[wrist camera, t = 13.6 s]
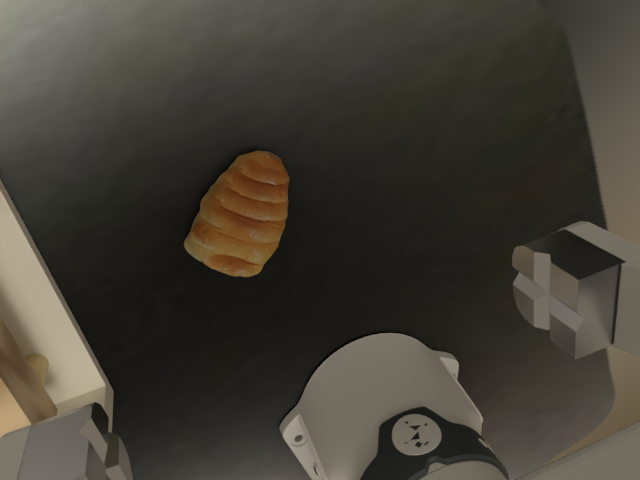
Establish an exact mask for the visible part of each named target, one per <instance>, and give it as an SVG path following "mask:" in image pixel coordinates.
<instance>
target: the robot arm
mask: <svg viewBox="0 0 640 480" xmlns="http://www.w3.org/2000/svg"><path fill="white" fill-rule="evenodd" d="M512 266H513V267H514V268H515V269H516V270H517V271H518V272H519V274H518V276H517V278H516V279H515V281H514V283H513V293H514V300H515V302H516V305H517V307H518V309H519V311H520V313H521V314H522V315H523V317H524V318H525V319H526V320H527V321H528V322H529V323H530V324H532V325H533V326H534V327H538V328H542V329H545V330H549V337H550V340H551V341H552V342H553V343H555V344H556V345H557V346H558V347H560V348H561V349H562V350H563V351H564V352H566V353H567V354H568V355H569V356H571V357H572V358H573V359H574V360H576V359H578V358H581V357H584V356H586V355H589V354H591V353H594V352H596V351H599V350H601V349H604V348H606V347H609V346H611V345H614V347H615V348H618V349H621V350H624V351H627V352H630V353H633V354H635V355H638V356H640V247H638V246H637V245H634V244H632V243H630V242H628V241H626V240H624V239H622V238H620V237H618V236H616V235H614V234H612V233H610V232H608V231H606V230H604V229H602V228H600V227H598V226H596V225H594V224H592V223H590V222H582V221H580V222H577V223H575V224H572V225H570V226H567V227H565V228H562V229H560V230H558V231H557V232H554V233H552V234H549V235H546V236H544V237H541V238H538V239H536V240H533V241H530V242H528V243H525V244H522V245H520V246H517V247H515V249H514V252H513V254H512ZM458 370H459V364H458V361H457V360H456V359H455V357H454V356H453V355H452V354H450V353H447V352H441V351H434V350H431V349H429V348H428V347H427V346H425V345H424V344H423V343H421V342H420V341H418V340H417V339H415V338H413V337H410V336H407V335H404V334H398V333H381V334H375V335H370V336H367V337H363V338H361V339H358V340H356V341H353V342H351V343H349V344H347V345H345V346H344V347H342V348H340V349H339V350H337V351H336V352H335V353H333V354H332V355H331V356H330V357H328V358H327V359H326V360H325V361H324V362H323V363H322V364H321V365H320V366H319V367H318V369H317V370H316V371H315V372H314V374H313V375H312V377H311V378H310V380H309V382H308V383H307V385H306V387H305V390H304V392H303V394H302V397H301V399H300V401H299V403H298V404H297V405H296V406H295V407H294V408H293V410H292V411H291V412H290V413H289V414H288V415H287V416H286V417H285V418H284V419H283V421H282V422H281V424H280V427H279V429H280V432H281V434H282V436H283V438H284V440H285V441H286V443H287V444H288V446H289V447H290V449H291V450H292V451H293V453H294V454H295V456H296V457H297V459H298V460H299V462H300V463H301V464H302V466H303V467H304V469H305V470H306V472H307V473H308V475H309V476H310V477H311V479H312V480H509V477H508V473H507V471H506V469H505V468H504V466H503V465H502V463H501V462H500V459H499V458H498V456H497V454H496V453H495V452H494V450H493V449H492V448H491V446H490V445H488V443H486V442H485V441H484V439H483V438H482V437H481V432H482V423H483V418H482V415H481V413H480V412H479V410H478V409H477V408H476V406H475V405H474V403H473V402H472V400H471V399H470V398H469V396H468V395H467V393H466V392H465V391H464V389H463V388H462V386H461V385H460V384H459V382H458V381H457V378H458ZM108 429H109V417H108V415H107V414H106V412H105V411H104V409H103V407H102V406H101V404H99V403H97V402H94V403H91V404H88V405H85V406H82V407H79V408H76V409H74V410H71V411H68V412H65V413H62V414H59V415H56V416H53V417H51V418H48V419H45V420H42V421H39V422H36V423H35V424H31V425H28V426H25V427H23V428H20V429H17V430H14V431H12V432H9V433H6V434H4V435H3V436H2V437H1V438H0V480H132V471H131V466H130V461H129V457H128V454H127V452H126V449H125V446H124V444H123V442H122V441H121V439H120V437H119V436H118V435H115V434H113V433H110V432H108ZM298 435H299V436H298ZM515 480H640V421H639V422H637V423H635V424H633V425H631V426H629V427H627V428H624V429H622V430H620V431H618V432H616V433H614V434H611V435H609V436H607V437H605V438H603V439H601V440H599V441H597V442H594V443H592V444H590V445H588V446H586V447H584V448H582V449H579V450H577V451H575V452H573V453H571V454H569V455H567V456H565V457H562V458H560V459H558V460H556V461H554V462H552V463H550V464H547V465H545V466H543V467H541V468H539V469H537V470H534V471H532V472H530V473H528V474H526V475H524V476H522V477H520V478H517V479H515Z"/></svg>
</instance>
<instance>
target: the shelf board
mask: <svg viewBox="0 0 640 480" xmlns="http://www.w3.org/2000/svg"><path fill="white" fill-rule="evenodd" d="M57 410H58V409H57V408H56V406H55V404H54V403H53V401H52V400H51V398H50V396H49V395H48V393H47V391H46V390H45V388H44V387H43V385H42V383H41V382H40V380H39V378H38V377H37V375H36V374H35V372H34V370H33V369H32V367H31V365H30V364H29V362H28V361H27V359H26V357H25V356H24V354H23V352H22V351H21V349H20V347H19V346H18V344H17V343H16V341H15V339H14V338H13V336H12V334H11V333H10V331H9V330H8V328H7V326H6V325H5V323H4V321H3V320H2V318H1V317H0V438H1V437H2V436H3V435H4V434H6V433H9V432H12V431H14V430H17V429H20V428H23V427H25V426H28V425H31V424H35V423H36V422H39V421H42V420H45V419H48V418H51V417H53V416H56V415H57Z"/></svg>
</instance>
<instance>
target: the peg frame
mask: <svg viewBox="0 0 640 480" xmlns="http://www.w3.org/2000/svg"><path fill="white" fill-rule="evenodd" d="M0 317H1V318H2V320H3V321H4V323H5V325H6V326H7V328H8V330H9V331H10V333H11V334H12V336H13V338H14V339H15V341H16V343H17V344H18V346H19V347H20V349H21V351H22V352H23V354H24V356H25V357H26V359H27V361H28V362H29V364H30V365H31V367H32V369H33V370H34V372H35V374H36V375H37V377H38V378H39V380H40V382H41V383H42V385H43V387H44V388H45V390H46V391H47V393H48V395H49V396H50V398H51V400H52V401H53V403H54V404H55V406H56V408H57V409H58V410H57V415H59V414H62V413H65V412H68V411H71V410H74V409H76V408H79V407H82V406H85V405H88V404H91V403H94V402H97V403H99V404H101V406H102V407H103V409H104V411H105V412H106V414H107V415H108V417H109V429H108V432H110V433H112V415H113V394H114V391H113V389H112V387H111V385H110V383H109V381H108V380H107V378H106V376H105V374H104V372H103V370H102V368H101V367H100V365H99V363H98V361H97V359H96V357H95V355H94V353H93V352H92V350H91V348H90V346H89V344H88V342H87V340H86V338H85V337H84V335H83V333H82V331H81V329H80V327H79V325H78V323H77V322H76V320H75V318H74V316H73V314H72V312H71V310H70V308H69V307H68V305H67V303H66V301H65V299H64V297H63V295H62V293H61V292H60V290H59V288H58V286H57V284H56V282H55V280H54V278H53V277H52V275H51V273H50V271H49V269H48V267H47V265H46V264H45V262H44V260H43V258H42V256H41V254H40V252H39V250H38V249H37V247H36V245H35V243H34V241H33V239H32V237H31V235H30V234H29V232H28V230H27V228H26V226H25V224H24V222H23V220H22V219H21V217H20V215H19V213H18V211H17V209H16V207H15V205H14V204H13V202H12V200H11V198H10V196H9V194H8V192H7V190H6V189H5V187H4V185H3V183H2V181H1V179H0Z"/></svg>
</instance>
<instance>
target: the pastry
mask: <svg viewBox="0 0 640 480" xmlns="http://www.w3.org/2000/svg"><path fill="white" fill-rule="evenodd" d="M288 185H289V176H288V173H287V171H286V169H285V167H284V166H283V164H282V160H281V159H280V158H279V157H278V156H276V155H274V154H273V153H270V152H267V151H254V152H251V153H247V154H243V155H240V156H238V157H237V158H236V160H235V161H234V163H232V164H231V165H230V167H229V168H228V170H226V171H225V172H224V173H222V174H221V175H220V176H219V178H218V180H217V181H216V182H215V184H213V185H212V186H211V187H210V188H209V191H208V192H207V193H206V194H205V195H204V197H203V198H202V200H201V203H200V211H199V213H198V214H197V216H196V218H195V219H194V221H193V224H192V227H191V231H190V233H189V235H188V236H187V237H186V239H185V241H184V247H185V249H186V251H187V252H188V253H189V254H191V255H192V256H193V257H194V258H195V259H197V260H199V261H202V262H203V263H204V264H205V265H207V266H208V267H210V268H212V269H215V270H217V271H220V272H222V273H225V274H228V275H231V276H243V277H250V276H254V275H256V274H258V273H259V272H261V269H262V268H263V265H264V264H265V262H266V261H267V260H268V259H269V258H270V256H271V255H272V254H273V253H274V252H275V250H276V249H277V247H278V244H279V241H280V237H281V234H282V233H283V230H284V228H285V221H286V218H287V208H288V203H289V202H288Z"/></svg>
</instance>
